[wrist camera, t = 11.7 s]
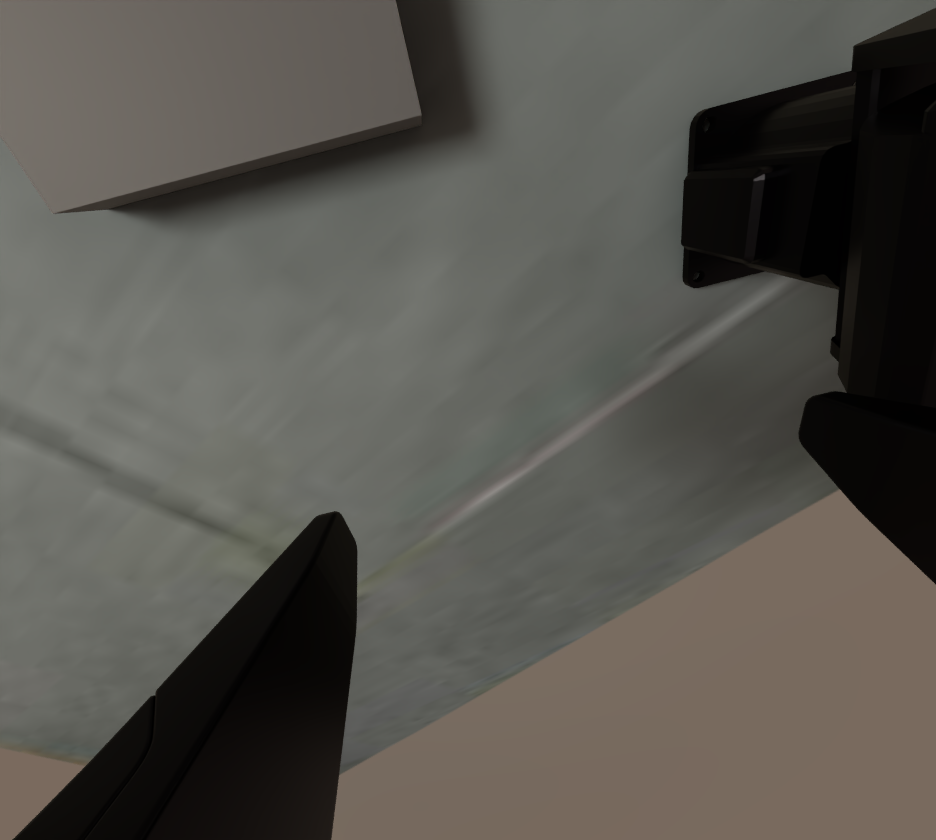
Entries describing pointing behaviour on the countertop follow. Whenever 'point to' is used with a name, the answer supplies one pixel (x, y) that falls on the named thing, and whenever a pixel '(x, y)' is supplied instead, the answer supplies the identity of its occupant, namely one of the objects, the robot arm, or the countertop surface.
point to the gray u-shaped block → (191, 90)
